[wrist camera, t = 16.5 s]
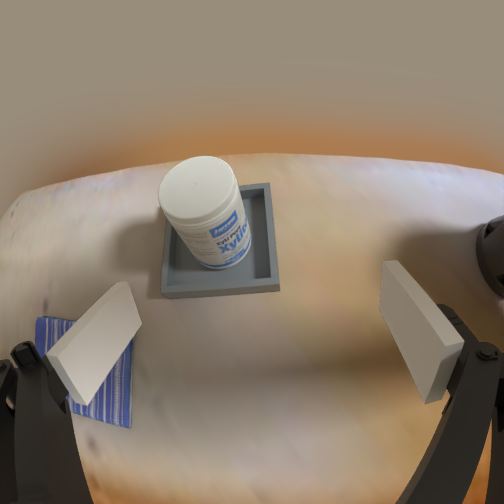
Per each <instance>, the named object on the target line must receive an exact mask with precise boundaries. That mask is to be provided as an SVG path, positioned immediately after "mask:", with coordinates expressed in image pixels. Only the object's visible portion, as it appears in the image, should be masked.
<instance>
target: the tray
mask: <svg viewBox="0 0 504 504" xmlns="http://www.w3.org/2000/svg"><path fill="white" fill-rule="evenodd" d="M238 187H239V191H240V195H241V198H242V202H243V206H244V209H245V213H246V217H247V220H248V224H249V228H250V232H251V245H250V248H249V251H248V253H247V254H246V256H245V257H244V258H243V259H242V260H241V261H240V262H239V263H237V264H236V265H234V266H232V267H229V268H225V269H211V268H208V267H206V266H204V265H202V264H201V263H200V262H198V260H197V259H196V258H195V257H194V255H193V254H192V253H191V251H190V250H189V248H188V247H187V246H186V244H185V243H184V242H183V240H182V239H181V237H180V236H179V235H178V233H177V232H176V230H175V229H174V227H173V226H172V225H171V223H170V222H169V220H168V219H167V221H166V230H165V240H164V250H163V262H162V275H161V291H160V293H161V294H163V295H164V296H165V297H167V298H168V299H180V298H197V297H213V296H227V295H240V294H252V293H264V292H275V291H280V283H279V272H278V260H277V249H276V239H275V228H274V218H273V208H272V199H271V190H270V183H260V184H252V185H243V186H238Z"/></svg>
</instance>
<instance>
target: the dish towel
mask: <svg viewBox="0 0 504 504" xmlns="http://www.w3.org/2000/svg"><path fill="white" fill-rule="evenodd" d="M76 322H77V321H71V320H65V319H61V318H53V317H47V316H43V317H38V318H37V320H36V327H35V332H36V337H35V348H36V350H37V351H38V353H39V355H40V357H41V358H42V357H43V356H44V355H45V354H46V353H47V352H48V351H49V350H50V348H51V347H52V346H53V345H54V344H55V343H57V341H58V340H59V339H60V338H61V337H62V336H63V335H64V334H65V333H66V331H67V330H69V329H70V328H71V327H72V326H73V325H74V324H75V323H76ZM133 349H134V336H133V338H132V339H131V341H130V342H129V344H128V345H127V347H126V348H125V349H124V351H123V352H122V354H121V355H120V357H119V358H118V360H117V361H116V363H115V364H114V366H113V367H112V369H111V370H110V372H109V373H108V375H107V376H106V378H105V380H104V381H103V383H102V384H101V386H100V387H99V389H98V390H97V392H96V393H95V395H94V397H93V398H92V400H91V401H90V403H89V404H88V406H86V405H82V404H79V403H75V401H74V400H73V398H72V397H71V395H70V394H68V395H67V397H66V399H67V400H68V402H69V405H70V412H73V413H76V414H79V415H82V416H86V417H90V418H92V419H96V420H99V421H103V422H105V423H110V424H114V425H117V426H122V427H127V428H130V427H131V409H132V374H133V373H132V372H133Z"/></svg>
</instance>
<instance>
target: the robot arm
mask: <svg viewBox="0 0 504 504" xmlns="http://www.w3.org/2000/svg"><path fill="white" fill-rule="evenodd" d="M477 258H478V262H479V266H480V269H481V271H482V273H483V276H484V278H485V279H486V281H487V283H488V284H489V285H490V287H491V288H492V289H493V290H494V291H495V292H496V293H497V294H499V295H500V296H502V297H504V215H503V216H500V217H498V218H495V219H493V220H491V221H489V222H488V223H487V224H486V225H485V226H484V227H483V228H482V229H481V231H480V233H479V235H478V238H477ZM379 311H380V313H381V315H382V316H383V318H384V320H385V322H386V324H387V326H388V328H389V330H390V332H391V334H392V336H393V338H394V340H395V342H396V344H397V346H398V348H399V350H400V352H401V354H402V356H403V358H404V360H405V362H406V365H407V367H408V369H409V371H410V373H411V375H412V378H413V380H414V382H415V384H416V386H417V389H418V391H419V393H420V396H421V398H422V400H423V403H424V404H427V403H431V402H434V401H437V400H441V399H442V397H443V395H444V393H445V391H446V388H447V390H448V392H449V394H450V398H449V400H448V402H447V404H446V406H445V408H444V410H443V412H442V414H443V415H442V417H441V420H440V422H439V424H438V427H437V429H436V431H435V434H434V436H433V438H432V440H431V442H430V444H429V446H428V448H427V450H426V452H425V454H424V456H423V458H422V460H421V462H420V464H419V466H418V467H417V469H416V471H415V473H414V475H413V476H412V478H411V480H410V481H409V483H408V485H407V486H406V488H405V490H404V491H403V493H402V494H401V496H400V497H399V499H398V501H397V502H396V504H462V502H463V500H464V498H465V496H466V493H467V491H468V489H469V486H470V484H471V482H472V479H473V476H474V474H475V471H476V468H477V466H478V463H479V460H480V457H481V454H482V451H483V448H484V444H485V441H486V437H487V434H488V430H489V426H490V422H491V418H492V444H491V461H490V472H489V481H488V488H487V495H486V501H485V504H504V353H501V352H500V351H499V349H498V348H497V347H496V346H494V345H493V344H490V343H488V342H479V341H478V340H477V338H476V337H475V336H474V335H473V333H472V332H471V331H470V330H469V328H468V327H467V326H466V325H465V324H463V321H462V320H461V319H460V318H458V315H457V314H456V313H455V312H454V311H453V309H451V308H450V307H448V306H446V305H444V304H439V305H436V304H435V303H434V302H433V301H432V299H431V298H430V297H429V296H428V295H427V293H426V292H425V291H424V290H423V289H422V288H421V286H420V285H419V284H418V283H417V282H416V281H415V280H414V278H413V277H412V276H411V275H410V274H409V273H408V272H407V271H406V269H405V268H404V267H403V266H402V265H401V264H400V263H399V262H398V261H397V260H390V261H383V265H382V281H381V293H380V304H379ZM141 325H142V322H141V319H140V316H139V313H138V310H137V307H136V304H135V301H134V298H133V295H132V292H131V289H130V286H129V282H128V281H123V282H116V283H115V284H114V285H113V286H112V287H111V288H110V289H109V290H108V291H107V292H106V293H105V294H104V295H103V296H102V297H101V298H100V299H99V300H98V301H97V302H96V303H95V304H94V305H93V306H92V307H91V308H90V309H89V310H88V311H87V312H86V313H85V314H84V315H83V316H82V317H81V318H80V319H79V320H78V321H77V322H76V323H75V324H74V325H73V326H72V327H71V328H70V329H69V330H67V331H66V333H65V334H64V335H63V336H62V337H61V338H60V339H59V340H58V341H57V343H55V344H54V345H53V346H52V347H51V348H50V350H49V351H48V352H47V353H46V354H45V355H44V356H43V357H42V358H41V357H40V355H39V353H38V351H37V350H36V348H35V346H34V344H33V343H32V342H31V341H26V342H22V343H20V344H18V345H17V346H16V347H14V349H13V350H12V351H11V353H10V354H11V356H12V358H13V359H14V361H15V363H16V365H17V366H18V368H14V367H13V365H12V363H11V361H10V360H8V359H5V360H0V504H94V503H93V500H92V498H91V495H90V492H89V488H88V485H87V482H86V479H85V475H84V472H83V468H82V464H81V460H80V456H79V452H78V448H77V444H76V439H75V434H74V429H73V424H72V418H71V412H70V405H69V402H68V400H67V399H66V397H67V395H68V394H70V395H71V397H72V398H73V400H74V401H75V403H79V404H82V405H86V406H88V404H89V403H90V401H91V400H92V398H93V397H94V395H95V393H96V392H97V390H98V389H99V387H100V386H101V384H102V383H103V381H104V380H105V378H106V376H107V375H108V373H109V372H110V370H111V369H112V367H113V366H114V364H115V363H116V361H117V360H118V358H119V357H120V355H121V354H122V352H123V351H124V349H125V348H126V347H127V345H128V344H129V342H130V341H131V339H132V338H133V336H134V335H135V333H136V332H137V331H138V329H139V328H140V326H141ZM6 397H7V398H8V399H9V400H10V402H11V403H12V404H13V408H12V409H11V408H10V407H9V406H8V404H7V403H6Z"/></svg>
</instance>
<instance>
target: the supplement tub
mask: <svg viewBox="0 0 504 504" xmlns="http://www.w3.org/2000/svg"><path fill="white" fill-rule="evenodd" d="M158 200H159V204H160V206H161V208H162V210H163V212H164V214H165V216H166V217H167V219H168V220H169V222H170V223H171V225H172V226H173V227H174V229H175V230H176V232H177V233H178V235H179V236H180V237H181V239H182V240H183V242H184V243H185V244H186V246H187V247H188V248H189V250H190V251H191V253H192V254H193V255H194V257H195V258H196V259H197V260H198V262H200V263H201V264H202V265H204V266H206V267H208V268H211V269H225V268H229V267H232V266H234V265H236V264H237V263H239V262H240V261H241V260H242V259H243V258H244V257H245V256H246V254H247V253H248V251H249V248H250V245H251V232H250V228H249V224H248V220H247V217H246V213H245V209H244V206H243V202H242V198H241V195H240V191H239V187H238V184H237V180H236V178H235V176H234V174H233V171H232V169H231V168H230V166H229V165H228V164H227V163H226V162H225V161H223V160H221V159H219V158H216V157H212V156H198V157H193V158H190V159H187V160H185V161H183V162H181V163H179V164H178V165H176V166H175V167H173V168H172V169H171V170H170V171H169V172H168V173H167V174H166V176H165V177H164V178H163V180H162V182H161V184H160V187H159V191H158Z"/></svg>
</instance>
